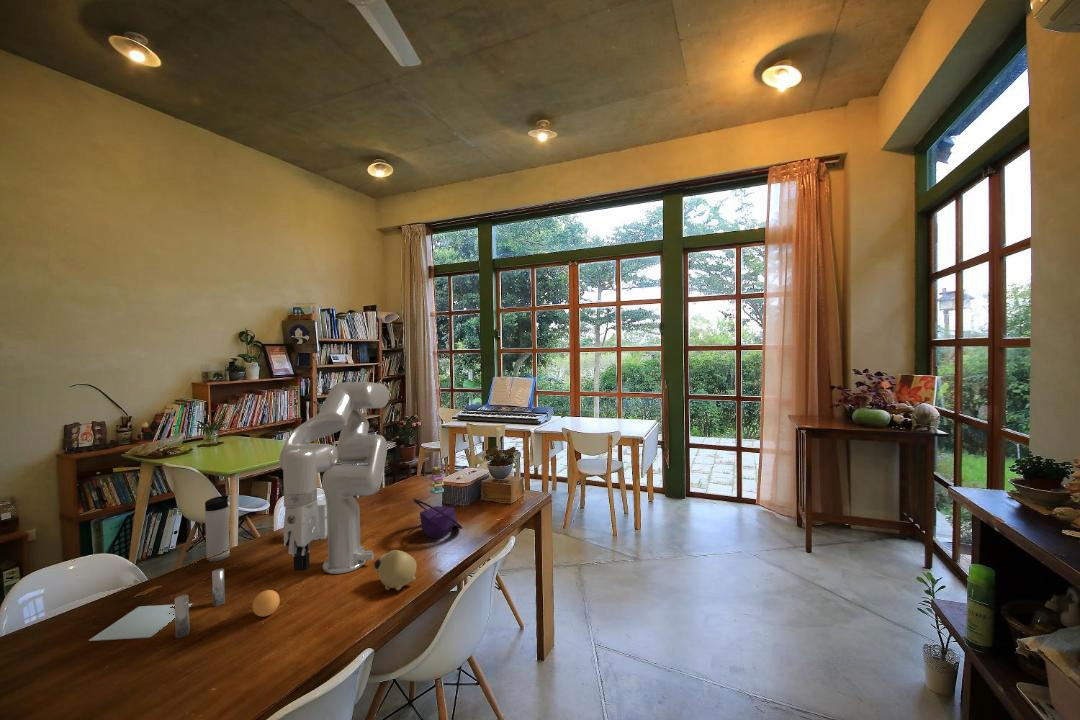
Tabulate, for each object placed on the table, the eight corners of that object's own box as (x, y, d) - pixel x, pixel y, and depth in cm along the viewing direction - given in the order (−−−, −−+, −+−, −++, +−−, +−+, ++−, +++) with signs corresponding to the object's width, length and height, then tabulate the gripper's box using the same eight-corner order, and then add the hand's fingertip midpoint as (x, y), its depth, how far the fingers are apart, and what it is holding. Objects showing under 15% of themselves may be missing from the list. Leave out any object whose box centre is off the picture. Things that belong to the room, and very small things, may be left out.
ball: (284, 607, 117) (283, 584, 117) (272, 621, 111) (271, 597, 111) (261, 608, 116) (260, 586, 116) (247, 622, 110) (246, 598, 110)
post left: (192, 630, 107) (191, 594, 107) (184, 637, 105) (183, 600, 105) (181, 631, 107) (179, 594, 107) (172, 638, 105) (171, 600, 105)
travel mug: (235, 554, 150) (233, 495, 149) (215, 563, 143) (213, 501, 143) (222, 551, 152) (220, 494, 151) (202, 560, 145) (200, 500, 145)
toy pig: (396, 573, 134) (395, 538, 134) (423, 584, 127) (422, 547, 127) (368, 588, 125) (367, 551, 125) (396, 600, 119) (394, 561, 119)
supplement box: (325, 539, 160) (324, 504, 160) (303, 541, 158) (302, 506, 158) (330, 531, 167) (329, 498, 167) (309, 533, 166) (308, 500, 165)
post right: (227, 600, 120) (226, 568, 120) (220, 606, 118) (219, 572, 118) (217, 601, 120) (216, 568, 120) (210, 606, 118) (209, 573, 118)
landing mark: (193, 604, 119) (193, 603, 119) (150, 637, 105) (150, 636, 105) (139, 607, 118) (138, 606, 118) (88, 641, 104) (88, 640, 104)
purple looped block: (480, 533, 162) (478, 465, 162) (432, 554, 146) (431, 479, 146) (442, 519, 177) (441, 457, 176) (395, 537, 161) (393, 468, 160)
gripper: (301, 506, 106) (302, 583, 106) (327, 489, 121) (328, 556, 121) (269, 507, 106) (270, 584, 106) (299, 490, 121) (300, 557, 120)
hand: (301, 569), depth 113 cm, fingers closed
